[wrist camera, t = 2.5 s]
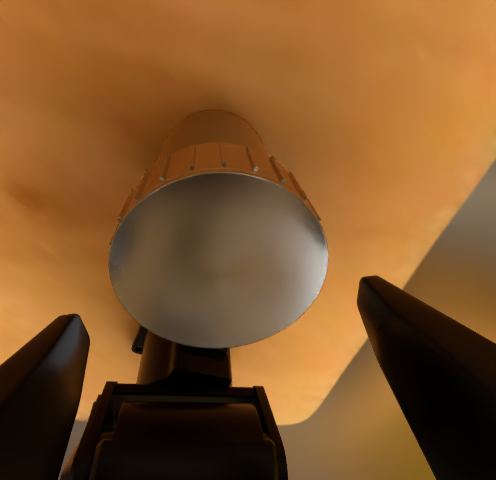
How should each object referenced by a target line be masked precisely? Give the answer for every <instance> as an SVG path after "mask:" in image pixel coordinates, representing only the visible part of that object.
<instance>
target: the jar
mask: <svg viewBox="0 0 496 480" xmlns="http://www.w3.org/2000/svg"><path fill="white" fill-rule="evenodd" d="M219 141H223V143H232V144H238V145H242V146H247V145H249V146H250V147H251V148H252V149H255V150H257V151H260V152H262V153H263V154H265V155H267V156H269V154H268V152H267V150H266V148H265V146H264V144H263V143H262V141H261V139H260V137H259V135H258V134H257V132H256V131H255V130H254V128H253V127H252V126H251V125H250V124H249V123H247V122H246V121H245V120H244V119H242V118H240V117H239V116H237V115H234V114H232V113H229V112H225V111H220V110H206V111H200V112H197V113H194V114H191V115H189V116H187V117H186V118H184V119H183V120H181V121H180V122H179V123H178V124H177V125H175V127H174V128H173V129H172V130H171V131H170V133H169V135H168V136H167V138H166V141H165V143H164V146H163V148H162V151H161V154H160V156H159V159H158V162H159V161H160V160H162V159H163V158H165V156H166V154H168V153H169V154H172V153H174V152H176V151H178V150H181V149H184V148H187V147H190V146H191V144H195V145H198V144H204V143H219ZM269 157H270V156H269ZM158 162H157V163H158Z"/></svg>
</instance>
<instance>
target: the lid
mask: <svg viewBox="0 0 496 480" xmlns="http://www.w3.org/2000/svg"><path fill="white" fill-rule="evenodd" d="M320 220H321V219H320V217H319V215H318V214H317V212H316V211H315V209H314V207H313V206H312V204H311V202H310V201H309V199H308V198H307V196H306V194H305V193H304V191H303V190H302V189H301V187H300V185H299V184H298V182H297V181H296V179H295V177H294V176H293V174H292V173H291V172H289V173H288V172H287V171H286V170H285V169H284V168H283V167H282V166H281V165H280V164H279V163H278V162H276V160H275V159H274V157H273V156H271V157H269V156H267V155H265V154H263V153H262V152H260V151H257V150H255V149H252V148H251V147H250V146H249V145H247V146H242V145H238V144H232V143H223V141H219V143H204V144H198V145H195V144H191V146H190V147H187V148H184V149H181V150H178V151H176V152H174V153H172V154H169V153H168V154H166V156H165V158H163V159H162V160H160V161H159V162H158V163H156V164H155V165H154V166H153V167H152V168H151V169H150V170H148V169H146V170H145V172H144V175H143V177H142V179H141V180H140V182H139V183H138V185H137V186H136V188H135V190H134V189H132V190H131V192H130V194H129V196H128V198H127V200H126V203H125V205H124V207H123V209H122V211H121V213H120V215H119V218H118V221H120V222H119V224H118V226H117V228H116V231H115V233H114V235H113V237H112V239H111V242H110V245H111V247H110V252H109V273H110V279H111V282H112V286H113V289H114V291H115V293H116V295H117V297H118V300H119V301H120V303H121V304H122V305H123V307H124V308H125V310H126V311H127V312H128V313H129V314H130V315H131V316H132V318H134V319H135V320H136V321H137V322H138V323H139V324H141V325H142V326H143V327H145V328H146V329H148V330H149V331H151V332H152V333H154V334H156V335H158V336H160V337H162V338H165V339H167V340H170V341H172V342H175V343H179V344H183V345H187V346H192V347H199V348H230V347H237V346H242V345H247V344H250V343H254V342H257V341H260V340H263V339H265V338H268V337H270V336H272V335H274V334H276V333H278V332H280V331H281V330H283V329H285V328H286V327H288V326H289V325H290V324H292V323H293V322H294V321H296V320H297V319H298V318H299V317H300V316H301V315H302V314H303V313H304V312H305V311H306V310H307V309H308V308H309V307H310V305H311V304H312V303H313V301H314V300H315V298H316V297H317V295H318V294H319V292H320V289H321V287H322V285H323V283H324V279H325V276H326V273H327V266H328V246H327V241H326V237H325V234H324V231H323V228H322V226H321V224H320V222H319V221H320Z"/></svg>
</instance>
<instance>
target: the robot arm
mask: <svg viewBox="0 0 496 480" xmlns="http://www.w3.org/2000/svg"><path fill="white" fill-rule="evenodd" d="M357 306H358V309H359V312H360V315H361V318H362V321H363V323H364V326H365V329H366V331H367V334H368V337H369V340H370V342H371V345H372V348H373V351H374V353H375V356H376V358H377V360H378V363H379V365H380V367H381V369H382V371H383V373H384V375H385V377H386V379H387V381H388V383H389V385H390V387H391V389H392V391H393V393H394V395H395V397H396V399H397V401H398V403H399V405H400V407H401V409H402V411H403V414H404V415H405V418H406V420H407V422H408V423H409V426H410V427H411V430H412V432H413V434H414V435H415V437H416V440H417V441H418V444H419V446H420V448H421V450H422V452H423V454H424V456H425V457H426V460H427V462H428V464H429V466H430V468H431V470H432V472H433V474H434V476H435V478H436V480H496V344H495V343H493V342H492V341H490V340H488V339H486V338H485V337H483V336H481V335H479V334H478V333H476V332H474V331H472V330H471V329H469V328H467V327H465V326H464V325H462V324H460V323H459V322H457V321H455V320H453V319H452V318H450V317H448V316H446V315H445V314H443V313H441V312H440V311H438V310H436V309H434V308H433V307H431V306H429V305H427V304H426V303H424V302H422V301H420V300H419V299H417V298H415V297H414V296H412V295H410V294H408V293H407V292H405V291H403V290H401V289H400V288H398V287H396V286H394V285H393V284H391V283H389V282H387V281H386V280H384V279H382V278H381V277H379V276H366V277H362V278H361V279H360V283H359V290H358V297H357ZM89 346H90V338H89V335H88V332H87V330H86V328H85V326H84V324H83V322H82V320H81V318H80V316H79V315H78V314H68V315H62V316H59V317H58V318H56V319H55V320H54V321H53V322H52V323H50V324H49V325H48V326H47V327H46V328H44V329H43V330H42V331H41V332H40V333H39V334H37V335H36V336H35V337H34V338H33V339H31V340H30V341H29V342H28V343H27V344H25V345H24V346H23V347H22V348H21V349H19V350H18V351H17V352H16V353H15V354H13V355H12V356H11V357H10V358H9V359H8V360H6V361H5V362H4V363H3V364H2V365H0V480H58V477H59V473H60V470H61V466H62V463H63V459H64V456H65V452H66V449H67V445H68V442H69V438H70V435H71V431H72V427H73V424H74V421H75V417H76V414H77V410H78V406H79V403H80V398H81V393H82V387H83V381H84V375H85V369H86V364H87V358H88V352H89ZM132 351H133V352H134V353H137V354H142V357H141V362H140V367H139V372H138V377H137V383H136V384H119V383H117V382H112V381H107V382H106V384H105V387H104V389H103V392H102V395H98V398H97V400H96V402H94V403H93V407H92V410H91V413H90V417H89V420H88V423H87V426H86V428H85V431H84V433H83V436H82V438H81V440H80V442H79V443H78V445H77V447H76V449H75V451H74V453H73V454H72V456H71V458H70V459H69V461H68V463H67V465H66V467H65V468H64V470H63V472H62V475H61V478H60V480H288V472H287V464H286V456H285V451H284V447H283V443H282V440H281V437H280V434H279V431H278V428H277V425H276V422H275V419H274V416H273V413H272V411H271V408H270V405H269V402H268V399H267V396H266V393H265V390H264V387H263V386H253V388H251V387H232V374H231V361H230V348H199V347H192V346H187V345H183V344H179V343H175V342H172V341H170V340H167V339H165V338H162V337H160V336H158V335H156V334H154V333H152V332H151V331H149V330H148V329H146V328H145V327H143V326H142V325H140V327H139V330H138V332H137V334H136V337H135V339H134V341H133V344H132Z"/></svg>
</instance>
